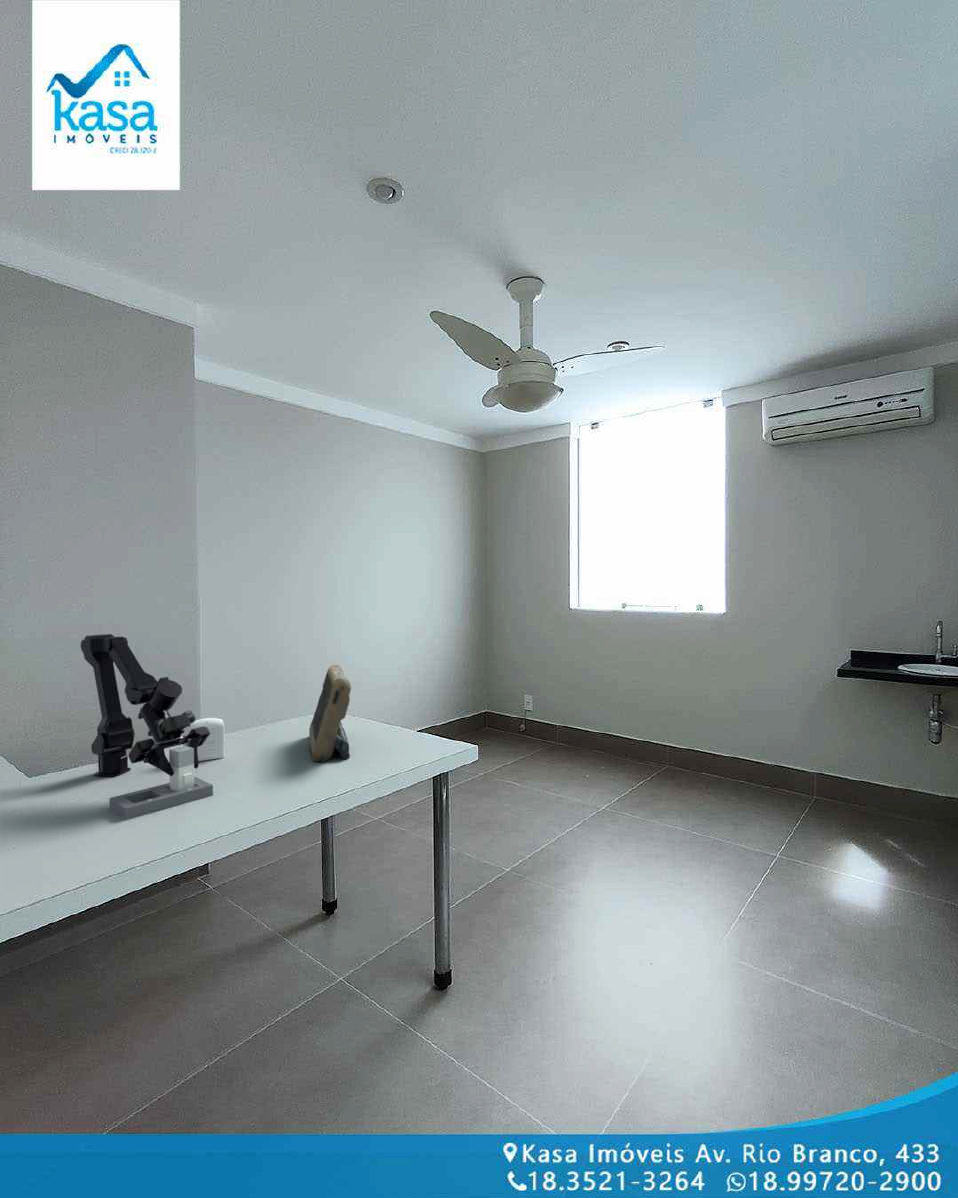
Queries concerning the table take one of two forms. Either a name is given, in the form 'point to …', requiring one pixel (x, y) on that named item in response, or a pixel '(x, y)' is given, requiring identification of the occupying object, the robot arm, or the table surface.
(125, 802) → the socket plate
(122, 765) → the robot arm
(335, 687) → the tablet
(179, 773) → the plug
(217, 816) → the table surface
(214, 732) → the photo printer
